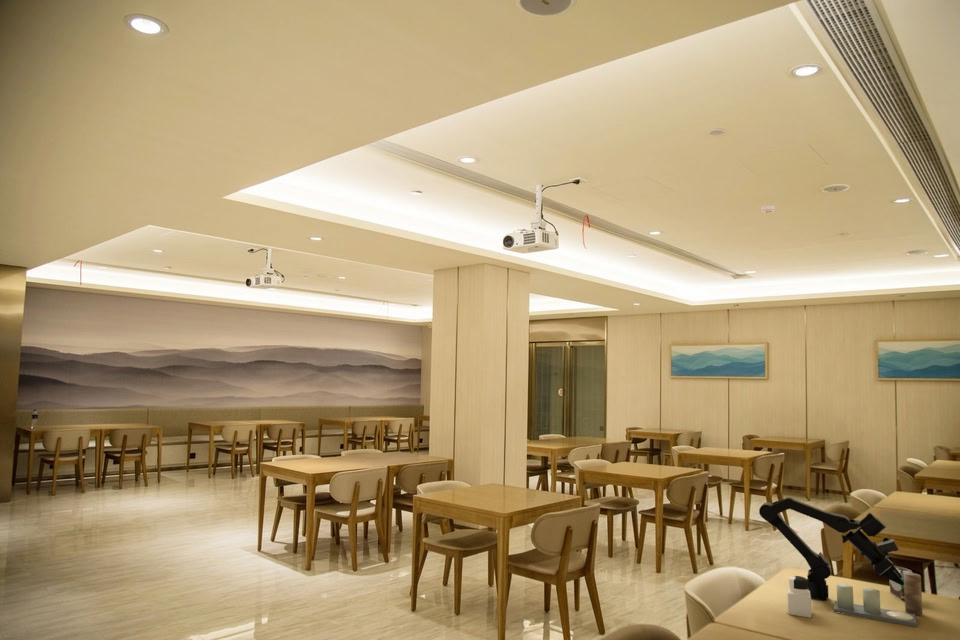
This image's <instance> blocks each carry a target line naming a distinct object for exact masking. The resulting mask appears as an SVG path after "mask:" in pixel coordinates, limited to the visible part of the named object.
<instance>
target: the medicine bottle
mask: <svg viewBox="0 0 960 640" xmlns="http://www.w3.org/2000/svg"><path fill="white" fill-rule="evenodd" d="M786 593H787V613H788V615H791V616H796V617H797V616H798V617H804V618H812V616H813V615H812V598H811V595H810V591H809V589H808V580H807V577H804V576H801V575H791V576H789V577H788V587H787V592H786Z"/></svg>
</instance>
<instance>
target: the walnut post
mask: <svg viewBox="0 0 960 640" xmlns="http://www.w3.org/2000/svg"><path fill="white" fill-rule="evenodd" d="M922 591H923V590H922V576H921V575H920V574H919V573H915V572H912V573H908V572H906V573H904V592H905V601H904V607H905V609H904V611H905V612H904V613H910V614H915V616H923V615H922V614H924V613H923V611H924V610H923V595H922V593H923V592H922Z"/></svg>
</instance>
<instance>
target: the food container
mask: <svg viewBox="0 0 960 640" xmlns="http://www.w3.org/2000/svg"><path fill="white" fill-rule="evenodd" d="M894 566H895V568H896V569H897V570H898V572H899V573H900V574H901V576H902V578H901V580H902V581H903V582H904V573H906V572H908V573H913V571H912V570H911V569H908V568H906V567H902V566H897V565H894ZM888 580H889V579H888ZM889 593H890V594H891V593H892V594H891V595H893V596H894V595H895V597H896V598H897V599H898V598H899V599H898V600H900V601H901V600H905V592H904V585H900V584H898V583H896V582H894V581H891V580H889Z"/></svg>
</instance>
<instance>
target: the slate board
mask: <svg viewBox="0 0 960 640" xmlns="http://www.w3.org/2000/svg"><path fill="white" fill-rule="evenodd" d="M832 608H833V613H835V612H840V613H839V614H841V613H844V614H843V615H847V614H848V615H849V616H852V615H853V617H857V618H864V617H865V619H869V618H870V620H876V621H880V622H881V621H882V622H886V623H887V622H888V623H892V624H898V625H903V626H909V627H914V626H915V627H916V628H917V627H918V623H917V619H916V615H915V614H910V613H906V612H903V611H898V610H893V609H888V608H887V609H885V608H881V607H880V610H881V613H879V614H874V613H869V612H866V611H864V606H863V604H862V605H861V604H856V603H854V608H853V609H845V608H841V607H839V606H837V600H834V603H833V607H832ZM915 627H914V628H915Z"/></svg>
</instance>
